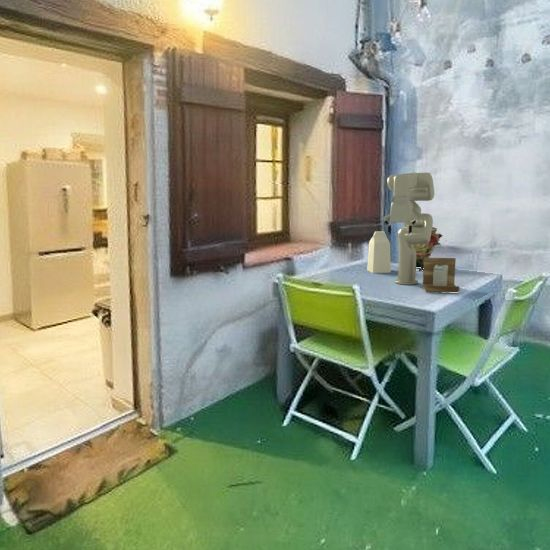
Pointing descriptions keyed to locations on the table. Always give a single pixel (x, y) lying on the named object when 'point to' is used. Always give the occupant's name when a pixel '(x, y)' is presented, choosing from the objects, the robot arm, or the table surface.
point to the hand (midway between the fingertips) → (399, 233)
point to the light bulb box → (440, 275)
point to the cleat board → (429, 270)
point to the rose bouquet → (426, 248)
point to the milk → (379, 254)
